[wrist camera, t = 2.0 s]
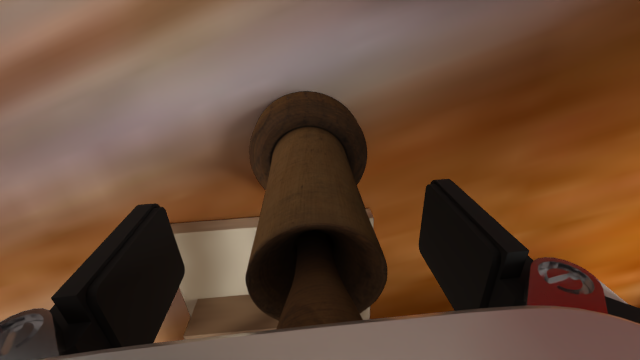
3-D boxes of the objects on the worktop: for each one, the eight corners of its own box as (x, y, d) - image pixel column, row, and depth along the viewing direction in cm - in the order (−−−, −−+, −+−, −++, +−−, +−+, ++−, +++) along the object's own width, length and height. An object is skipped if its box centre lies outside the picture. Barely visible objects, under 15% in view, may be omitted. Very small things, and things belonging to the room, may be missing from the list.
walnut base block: (331, 287, 22) (336, 322, 19) (335, 366, 26) (339, 404, 24) (197, 298, 21) (183, 336, 19) (224, 377, 26) (215, 416, 23)
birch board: (369, 208, 20) (373, 218, 19) (364, 375, 29) (366, 388, 28) (167, 224, 20) (159, 234, 19) (225, 389, 29) (222, 402, 28)
